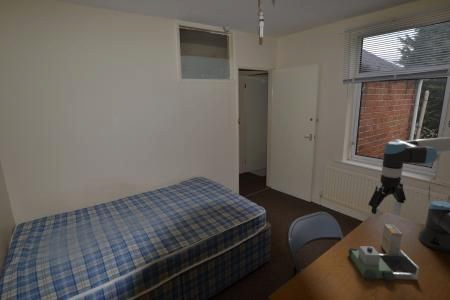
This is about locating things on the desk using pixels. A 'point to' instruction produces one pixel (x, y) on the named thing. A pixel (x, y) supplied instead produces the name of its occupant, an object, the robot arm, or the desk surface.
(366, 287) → the desk surface
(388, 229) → the supplement box
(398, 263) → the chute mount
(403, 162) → the robot arm
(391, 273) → the toy wooden truck
